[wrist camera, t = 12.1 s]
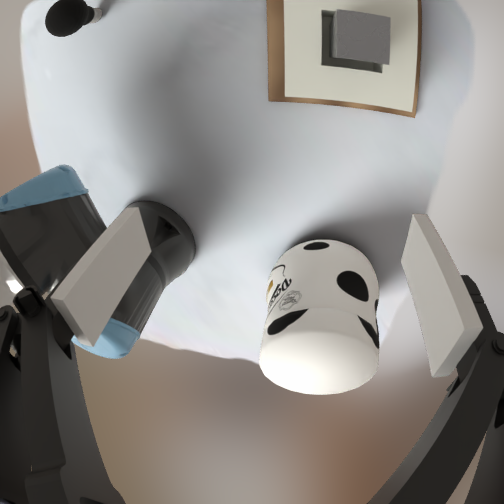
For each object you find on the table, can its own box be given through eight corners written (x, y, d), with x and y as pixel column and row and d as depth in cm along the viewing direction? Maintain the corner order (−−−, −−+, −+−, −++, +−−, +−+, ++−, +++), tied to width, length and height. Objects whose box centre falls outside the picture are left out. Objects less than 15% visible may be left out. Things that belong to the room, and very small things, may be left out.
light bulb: (116, 26, 29) (68, 29, 21) (85, 37, 30) (37, 45, 22) (114, -8, 25) (66, -11, 18) (83, 5, 26) (35, 7, 19)
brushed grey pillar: (329, 57, 27) (336, 57, 18) (329, 25, 24) (336, 9, 15) (364, 61, 26) (389, 65, 17) (365, 29, 24) (390, 17, 15)
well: (289, 90, 31) (284, 96, 27) (288, -10, 23) (282, -22, 19) (397, 102, 29) (412, 112, 24) (401, 3, 21) (417, -5, 16)
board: (269, 99, 33) (268, 101, 33) (267, -18, 24) (265, -21, 23) (412, 116, 30) (415, 118, 30) (418, -1, 21) (421, -2, 20)
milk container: (252, 250, 48) (223, 341, 34) (356, 214, 41) (371, 310, 27) (297, 317, 56) (284, 402, 42) (385, 295, 49) (396, 386, 35)
